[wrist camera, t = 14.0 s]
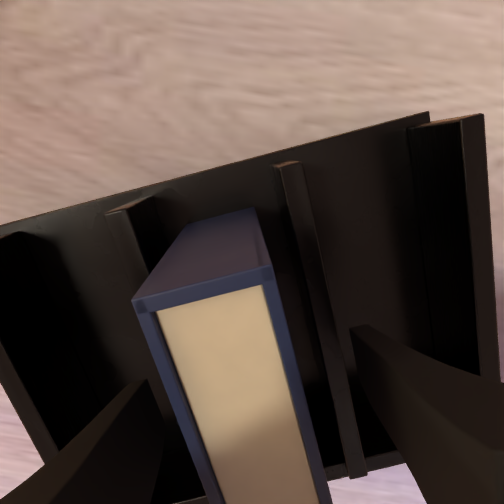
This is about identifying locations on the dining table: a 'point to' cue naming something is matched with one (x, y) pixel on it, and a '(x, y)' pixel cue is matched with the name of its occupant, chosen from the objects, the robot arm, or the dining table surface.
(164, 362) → the book
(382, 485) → the dining table surface
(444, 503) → the robot arm
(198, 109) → the dining table surface
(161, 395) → the rack
